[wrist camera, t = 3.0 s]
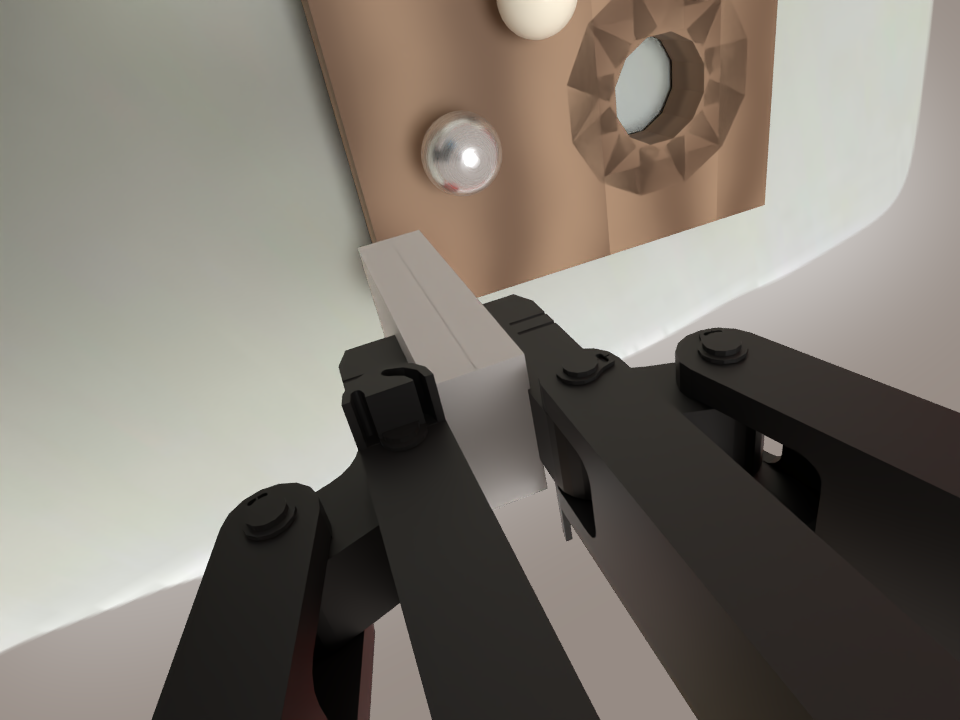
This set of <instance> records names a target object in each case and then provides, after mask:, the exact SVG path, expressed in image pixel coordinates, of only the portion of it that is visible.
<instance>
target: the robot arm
mask: <svg viewBox="0 0 960 720" xmlns="http://www.w3.org/2000/svg"><path fill="white" fill-rule="evenodd" d="M358 251H359V255H360V258H361V261H362V264H363V268H364V271H365V274H366V277H367V281H368V284H369V287H370V290H371V294H372V297H373V300H374V303H375V307H376V310H377V313H378V316H379V320H380V323H381V326H382V329H383V333H384V336H385V338H383V339H380V340H377V341H374V342H371V343H368V344H365V345H362V346H359V347H355V348H352V349H349V350H346V351H345V353H344V355H343V358H342V360H341V362H340V364H339V370H340V374H341V377H342V381H343V385H344V388H345V392H344V393H343V396H342V408H343V410H344V413H345V416H346V418H347V421H348V424H349V426H350V429H351V432H352V434H353V437H354V440H355V442H356V445H357V448H358V452H357V455H356V457H355V459H354V461H353V462H352V464H351V465H350V466H349V467H348V468H347V470H346V471H345V472H344V473H343V474H342V475H340V476H339V477H338V478H336V479H335V480H334V481H332V482H331V483H330V484H328V485H326V486H325V487H323V488H321V489H320V490H318V491H317V492H314V490H313V489H312V488H311V487H309V486H306V485H302V484H299V483H285V484H277V485H274V486H271V487H268V488H265V489H262V490H260V491H258V492H257V493H255V494H253V495H252V496H250V497H248V498H247V499H245V500H243V501H242V502H241V503H240V504H239V505H238V506H237V507H236V508H235V509H234V510H233V511H232V512H231V513H229V515H228V516H227V518H226V520H225V522H224V523H223V525H222V527H221V528H220V531H219V534H218V536H217V539H216V542H215V545H214V548H213V550H212V553H211V556H210V559H209V561H208V564H207V567H206V570H205V573H204V575H203V578H202V581H201V584H200V587H199V589H198V592H197V595H196V598H195V600H194V603H193V606H192V609H191V612H190V614H189V617H188V620H187V623H186V625H185V628H184V631H183V634H182V637H181V639H180V642H179V645H178V648H177V650H176V653H175V656H174V659H173V662H172V664H171V667H170V670H169V673H168V675H167V678H166V681H165V684H164V687H163V689H162V693H161V695H160V698H159V701H158V704H157V706H156V709H155V712H154V714H153V717H152V720H370V704H371V689H372V673H373V656H374V640H375V630H374V624H373V623H374V622H376V621H377V620H378V619H379V618H381V617H382V616H383V615H385V614H386V613H387V612H389V611H390V610H391V609H393V608H394V607H395V606H396V605H398V604H399V603H400V604H401V608H402V611H403V615H404V618H405V622H406V626H407V630H408V633H409V637H410V641H411V644H412V648H413V651H414V655H415V659H416V663H417V666H418V670H419V674H420V677H421V681H422V684H423V688H424V692H425V695H426V699H427V703H428V706H429V710H430V714H431V717H432V720H600V719H599V717H598V715H597V713H596V711H595V709H594V707H593V705H592V703H591V701H590V699H589V697H588V695H587V693H586V692H585V690H584V687H583V686H582V684H581V682H580V680H579V678H578V676H577V674H576V672H575V670H574V668H573V666H572V664H571V662H570V660H569V658H568V656H567V654H566V652H565V651H564V649H563V647H562V645H561V643H560V641H559V639H558V637H557V635H556V633H555V631H554V629H553V627H552V625H551V623H550V622H549V619H548V618H547V616H546V614H545V612H544V610H543V608H542V606H541V604H540V602H539V600H538V598H537V596H536V594H535V592H534V590H533V588H532V586H531V585H530V583H529V581H528V579H527V577H526V575H525V573H524V571H523V569H522V567H521V565H520V563H519V561H518V559H517V557H516V555H515V553H514V551H513V550H512V548H511V546H510V544H509V542H508V540H507V538H506V536H505V534H504V532H503V530H502V528H501V526H500V524H499V522H498V520H497V518H496V516H495V515H494V513H493V511H492V510H494V509H496V508H499V507H501V506H504V505H506V504H509V503H511V502H514V501H517V500H519V499H522V498H524V497H527V496H529V495H532V494H535V493H537V492H540V491H542V490H545V489H547V483H546V477H545V471H544V466H545V468H546V469H547V470H548V472H549V474H550V475H551V477H552V478H553V479H554V481H555V485H556V491H557V496H558V502H559V509H560V516H561V522H562V528H563V532H564V536H565V539H566V541H569V540H571V539H572V532H571V525H572V526H573V528H574V530H575V531H576V533H577V534H578V536H579V537H580V539H581V540H582V542H583V543H584V545H585V546H586V548H587V550H588V551H589V553H590V554H591V556H592V557H593V559H594V560H595V562H596V563H597V565H598V567H599V568H600V570H601V571H602V572H603V574H604V576H605V577H606V579H607V580H608V582H609V583H610V585H611V587H612V588H613V590H614V591H615V593H616V594H617V596H618V597H619V599H620V600H621V602H622V604H623V605H624V607H625V608H626V610H627V611H628V613H629V614H630V616H631V617H632V619H633V620H634V622H635V623H636V625H637V627H638V628H639V630H640V631H641V633H642V634H643V636H644V637H645V639H646V641H647V642H648V643H649V645H650V647H651V648H652V650H653V651H654V653H655V654H656V656H657V657H658V659H659V660H660V662H661V664H662V665H663V666H664V668H665V670H666V671H667V673H668V674H669V676H670V678H671V679H672V681H673V682H674V683H675V685H676V687H677V688H678V690H679V691H680V693H681V694H682V696H683V697H684V699H685V701H686V702H687V704H688V705H689V707H690V708H691V710H692V711H693V713H694V714H695V716H696V718H697V719H698V720H960V413H958V412H956V411H953V410H951V409H948V408H945V407H943V406H940V405H938V404H935V403H932V402H930V401H927V400H925V399H922V398H920V397H917V396H914V395H912V394H909V393H907V392H904V391H901V390H899V389H896V388H894V387H891V386H888V385H886V384H883V383H880V382H878V381H875V380H873V379H870V378H867V377H865V376H862V375H860V374H857V373H854V372H852V371H849V370H847V369H844V368H841V367H839V366H836V365H834V364H831V363H828V362H826V361H823V360H820V359H818V358H815V357H813V356H810V355H808V354H805V353H802V352H800V351H797V350H794V349H792V348H789V347H787V346H784V345H781V344H779V343H776V342H774V341H771V340H768V339H766V338H763V337H760V336H758V335H755V334H753V333H750V332H745V331H742V330H738V329H729V328H711V329H706V330H700V331H698V332H695V333H693V334H690V335H688V336H686V337H685V338H684V339H682V340H681V341H680V342H679V343H678V345H677V349H676V351H675V363H668V364H661V365H654V366H647V367H636V368H630V367H629V366H628V365H627V364H626V363H625V362H623V361H622V360H621V359H620V358H619V357H617V356H615V355H614V354H612V353H610V352H608V351H603V350H599V349H594V348H592V349H583V348H582V347H581V346H579V345H578V344H577V343H576V342H575V341H574V340H573V339H572V338H571V337H570V336H569V335H568V334H567V333H566V332H565V331H564V330H563V329H562V328H561V327H560V326H559V325H558V324H557V323H554V321H553V320H552V319H551V318H550V317H549V316H548V315H547V314H545V313H544V311H543V310H542V309H541V308H540V307H539V306H538V305H537V304H536V303H535V302H534V301H532V300H529V299H526V298H523V297H520V296H517V295H514V294H513V295H510V296H507V297H504V298H501V299H498V300H494V301H491V302H488V303H485V304H482V303H481V302H480V301H479V300H478V299H477V298H476V296H475V295H474V294H473V293H472V292H471V290H470V289H469V288H468V287H467V286H466V285H465V283H464V282H463V281H462V280H461V279H460V278H459V276H458V275H457V274H456V273H455V272H454V270H453V269H452V268H451V267H450V266H449V265H448V263H447V262H446V261H445V260H444V259H443V258H442V256H441V255H440V254H439V253H438V252H437V250H436V249H435V248H434V247H433V246H432V245H431V243H430V242H429V241H428V240H427V239H426V237H425V236H424V235H423V234H422V233H421V232H420V230H417V231H413V232H410V233H406V234H403V235H400V236H396V237H393V238H389V239H386V240H383V241H379V242H376V243H372V244H369V245H366V246H362V247H359V248H358ZM764 435H765V436H767V437H769V438H771V439H773V440H775V441H777V442H779V443H781V444H783V449H782V455H781V456H775V455H772V454H770V453H768V452H766V451H764V450H763V446H764Z"/></svg>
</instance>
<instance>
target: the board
mask: <svg viewBox="0 0 960 720" xmlns="http://www.w3.org/2000/svg"><path fill="white" fill-rule="evenodd" d="M301 1H302V5H303V8H304V12H305V15H306V18H307V22H308V25H309V29H310V32H311V36H312V39H313V42H314V46H315V49H316V53H317V56H318V59H319V63H320V66H321V70H322V73H323V77H324V80H325V83H326V87H327V90H328V94H329V97H330V100H331V104H332V107H333V111H334V114H335V118H336V121H337V124H338V128H339V131H340V135H341V138H342V141H343V145H344V148H345V152H346V155H347V159H348V162H349V165H350V169H351V172H352V176H353V179H354V183H355V186H356V189H357V193H358V196H359V200H360V203H361V206H362V210H363V213H364V217H365V220H366V224H367V227H368V230H369V234H370V237H371V241H372V243H376V242H379V241H383V240H386V239H389V238H393V237H396V236H400V235H403V234H406V233H410V232H413V231H417V230H420V232H421V233H422V234H423V235H424V236H425V237H426V239H427V240H428V241H429V242H430V243H431V245H432V246H433V247H434V248H435V249H436V250H437V252H438V253H439V254H440V255H441V256H442V258H443V259H444V260H445V261H446V262H447V263H448V265H449V266H450V267H451V268H452V269H453V270H454V272H455V273H456V274H457V275H458V276H459V278H460V279H461V280H462V281H463V282H464V283H465V285H466V286H467V287H468V288H469V289H470V290H471V292H472V293H473V294H474V295H475V296H476V298H478V297H481V296H484V295H487V294H490V293H493V292H496V291H499V290H502V289H505V288H509V287H512V286H515V285H518V284H521V283H524V282H527V281H530V280H533V279H536V278H540V277H543V276H546V275H549V274H552V273H555V272H558V271H561V270H564V269H567V268H570V267H574V266H577V265H580V264H583V263H586V262H589V261H592V260H595V259H598V258H601V257H605V256H608V255H611V254H614V253H617V252H620V251H623V250H626V249H629V248H632V247H636V246H639V245H642V244H645V243H648V242H651V241H654V240H657V239H660V238H663V237H667V236H670V235H673V234H676V233H679V232H682V231H685V230H688V229H691V228H694V227H697V226H701V225H704V224H707V223H710V222H713V221H716V220H719V219H722V218H725V217H728V216H732V215H735V214H738V213H741V212H744V211H747V210H750V209H753V208H756V207H759V206H763V205H765V190H766V174H767V159H768V143H769V128H770V112H771V97H772V81H773V66H774V50H775V34H776V19H777V3H778V0H577V5H576V8H575V11H574V13H573V15H572V17H571V19H570V20H569V22H568V23H567V24H566V26H565V27H564V28H563V29H562V30H561V31H559V32H558V33H557V34H555V35H553V36H551V37H549V38H546V39H542V40H529V39H525V38H522V37H520V36H518V35H516V34H515V33H514V32H512V31H511V30H510V29H509V28H508V27H507V26H506V24H505V23H504V21H503V20H502V18H501V15H500V13H499V10H498V6H497V0H301ZM651 36H653V37H655V38H658V39H660V40H661V42H662V44H663V46H664V47H665V49H666V51H667V53H668V55H669V57H670V58H671V60H672V90H671V92H670V95H669V97H668V100H667V102H666V105H665V107H664V109H663V112H662V113H661V114H660V115H659V116H658V117H657V118H656V119H655V120H654V121H653V122H652V123H651V124H650V125H649V126H648V127H647V128H646V129H645V130H644V131H641V132H637V133H634V134H630V135H628V134H627V132H626V130H625V129H624V127H623V126H622V124H621V123H620V121H619V120H618V118H617V114H616V97H615V86H616V84H617V81H618V78H619V76H620V73H621V70H622V68H623V65H624V62H625V60H626V58H627V57H628V56H629V55H630V54H631V53H632V52H633V51H634V50H635V49H636V48H637V47H638V46H639V45H640V44H641V43H642V42H643V41H644V40H645V39H646V38H647V37H651ZM454 111H469V112H473V113H476V114H478V115H480V116H481V117H483V118H485V119H486V120H487V121H488V122H489V123H490V124H491V125H492V126H493V128H494V129H495V130H496V132H497V134H498V136H499V139H500V142H501V146H502V162H501V166H500V169H499V172H498V174H497V176H496V177H495V179H494V180H493V182H492V183H491V184H490V185H489V186H488V187H487V188H485V189H484V190H482V191H481V192H479V193H476V194H473V195H470V196H454V195H450V194H447V193H445V192H443V191H441V190H440V189H438V188H437V187H436V186H435V185H434V184H433V183H432V182H431V181H430V179H429V178H428V177H427V175H426V173H425V171H424V168H423V165H422V160H421V146H422V141H423V138H424V136H425V133H426V131H427V130H428V128H429V127H430V126H431V124H432V123H433V122H434V121H435V120H437V119H438V118H439V117H441V116H443V115H445V114H447V113H450V112H454Z"/></svg>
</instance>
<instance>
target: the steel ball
mask: <svg viewBox="0 0 960 720" xmlns="http://www.w3.org/2000/svg"><path fill="white" fill-rule="evenodd" d="M421 160H422V165H423V168H424V171H425V173H426V175H427V177H428V178H429V179H430V181H431V182H432V183H433V184H434V185H435V186H436V187H437V188H438V189H440V190H441V191H443V192H445V193H447V194H450V195H454V196H470V195H473V194H476V193H479V192H481V191H482V190H484V189H485V188H487V187H488V186H489V185H490V184H491V183H492V182H493V180H494V179H495V177H496V176H497V174H498V172H499V169H500V166H501V162H502V146H501V142H500V139H499V136H498V134H497V132H496V130H495V129H494V128H493V126H492V125H491V124H490V123H489V122H488V121H487V120H486V119H485V118H483V117H481V116H480V115H478V114H476V113H473V112H469V111H454V112H450V113H447V114H445V115H443V116H441V117H439V118H438V119H437V120H435V121H434V122H433V123H432V124H431V126H430V127H429V128H428V130H427V131H426V133H425V136H424V138H423V141H422V146H421Z"/></svg>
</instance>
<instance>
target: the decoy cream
mask: <svg viewBox="0 0 960 720" xmlns="http://www.w3.org/2000/svg"><path fill="white" fill-rule="evenodd" d="M576 5H577V0H497V6H498V10H499V13H500V15H501V18H502V20H503V21H504V23H505V24H506V26H507V27H508V28H509V29H510V30H511V31H512V32H514V33H515V34H516V35H518V36H520V37H522V38H525V39H529V40H542V39H546V38H549V37H551V36H553V35H555V34H557V33H558V32H559V31H561V30H562V29H563V28H564V27H565V26H566V24H567V23H568V22H569V20H570V19H571V17H572V15H573V13H574V11H575V8H576Z"/></svg>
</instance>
